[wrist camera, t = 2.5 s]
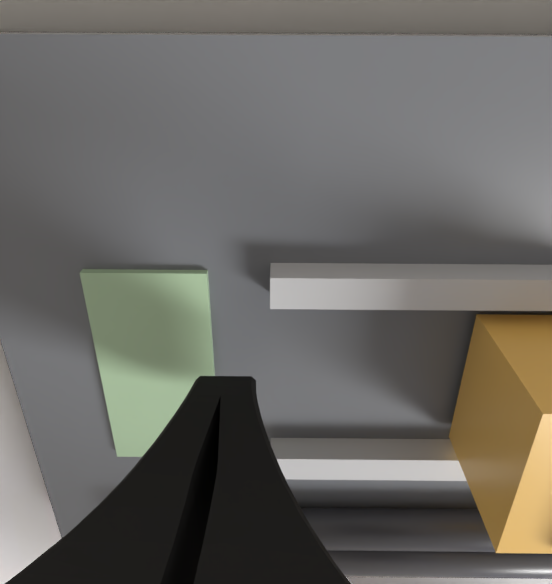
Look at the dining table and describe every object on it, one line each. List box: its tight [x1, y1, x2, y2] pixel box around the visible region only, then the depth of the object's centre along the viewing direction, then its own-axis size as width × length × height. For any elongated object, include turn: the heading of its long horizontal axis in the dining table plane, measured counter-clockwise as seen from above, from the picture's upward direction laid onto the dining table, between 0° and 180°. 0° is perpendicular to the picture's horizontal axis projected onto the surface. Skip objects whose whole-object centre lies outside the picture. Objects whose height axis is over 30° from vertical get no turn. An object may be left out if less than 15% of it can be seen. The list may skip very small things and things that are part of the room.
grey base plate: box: [0, 32, 552, 579], centre depth 13 cm, size 28×16×3 cm, turn 90°
